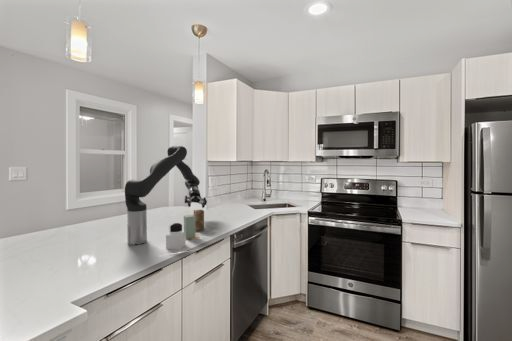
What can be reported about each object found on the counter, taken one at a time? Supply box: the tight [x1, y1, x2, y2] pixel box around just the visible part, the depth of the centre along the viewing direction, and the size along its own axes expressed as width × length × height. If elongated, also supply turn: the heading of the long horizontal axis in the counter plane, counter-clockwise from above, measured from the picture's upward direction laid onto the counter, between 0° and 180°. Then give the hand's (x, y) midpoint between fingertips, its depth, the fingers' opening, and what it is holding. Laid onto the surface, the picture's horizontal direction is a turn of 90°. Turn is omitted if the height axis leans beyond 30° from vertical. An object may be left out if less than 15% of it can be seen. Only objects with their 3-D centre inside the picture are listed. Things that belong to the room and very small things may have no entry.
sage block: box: [183, 214, 196, 239], centre depth 143 cm, size 5×5×12 cm
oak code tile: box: [185, 233, 201, 242], centre depth 143 cm, size 10×10×1 cm
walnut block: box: [193, 209, 205, 231], centre depth 158 cm, size 5×5×12 cm
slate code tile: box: [195, 226, 210, 234], centre depth 158 cm, size 10×10×1 cm
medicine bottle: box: [165, 222, 186, 250], centre depth 128 cm, size 7×7×12 cm
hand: (196, 206), depth 165 cm, fingers open, 8 cm apart
